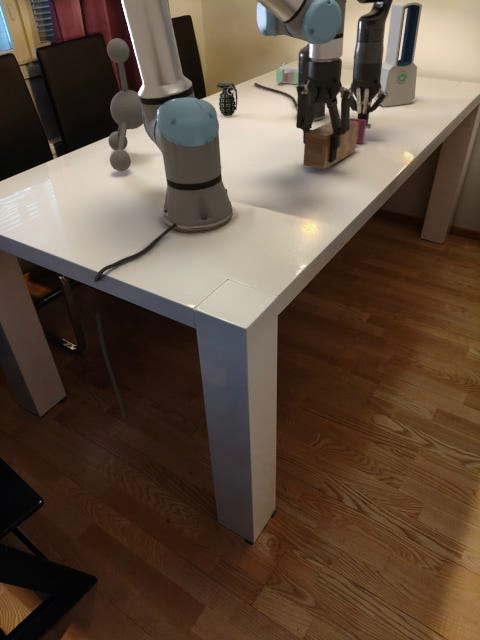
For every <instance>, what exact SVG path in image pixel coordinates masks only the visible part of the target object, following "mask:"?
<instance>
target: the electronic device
mask: <svg viewBox="0 0 480 640" xmlns="http://www.w3.org/2000/svg"><path fill="white" fill-rule="evenodd" d="M422 8H423V4H421V2H420V3H419V2H416V1H408V0H399V1H396V2H394V3H392V4H391V9H390V10H391V11H390V17H389V18H390V19H389V28H388V35H387V43H386V50H385V51H386V52H385V58H384V59H385V60H384V62H382V70H381V79H380V83H381V89H382V90H383V91H384V92H387V93H388V96H387V97H386V98H385V100H384V101H383V102H382V103H381V104H380V105H381V106H383V107H384V108H385V107H393V106H400V105H408V104H412V103H413V102H414V100H415V99H416V88H417V86H416V85H417V75H418V74H417V72H418V66H417V65H416V63H414V60H415V55H416V48H417V42H418V33H419V28H420V21H421V16H422V15H421V14H422ZM405 14H406V17H405ZM404 20H405V24H404ZM403 28H404V29H403ZM403 31H404V32H403ZM402 36H403V38H402ZM401 43H402V46H401ZM400 51H401V52H400ZM399 57H400V59H399ZM377 95H378V93H377ZM377 95H376V96H375V97H374V98H373V100H374V102H376V100H377V99H378V98H377ZM380 105H379V106H380Z"/></svg>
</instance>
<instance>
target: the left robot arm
mask: <svg viewBox="0 0 480 640" xmlns="http://www.w3.org/2000/svg"><path fill="white" fill-rule="evenodd" d="M256 1H257V5H256V24H257V27H258V30H259V32H260V34H261V35H262V36H264V37H275V38H276V37H277V36H287V37H290V38H293V39H298V40H301V41H304V42H306V43H309V57H310V58H311V60H310V61H309V74H308V76H309V81H308V83H307V84H302V85H300V86H298V85H297V87H296V94H297V99H298V107H297V111H296V123H295V127H296V128H297V129H300V130H302V131H303V133H302V143H303V145H305V134H306V132H309V131H311V130H312V128H313V123H314V121H315V120H314V117H315V114H316V111H317V108H318V104H319V103H320V102H323V103H326V105H325V107H326V108H327V109H328V114H329V119H330V122H331V124H332V129H333V135H331V136H330V154H329V162H330V163H332V162H333V161H335V160H336V157H337V149H338V148H339V147H340V145H341V135H342V134H343V135H344V134H345V133H347V132H348V131H349V125H350V118H351V117H350V116H351V107H350V98H351V95H352V92H353V90H352V89H351V88H350V87H349V88H346V87H344V86H343V85H342V82H341V81H342V80H341V78H342V69H343V68H342V67H343V59H342V58H341V57H342V56H343V50H344V34H345V23H346V22H345V20H346V7H347V6H346V5H347V0H256ZM121 4H122V8H123V12H124V16H125V20H126V23H127V27H128V31H129V34H130V40H131V43H132V46H133V50H134V55H135V58H136V62H137V66H138V69H139V73H140V77H141V81H142V85H141V87H140V88H139V91H138V92H137V93H138V94H139V98H140V102H141V106H142V109H143V124H142V125H143V127H144V130H145V132H146V134H147V136H148V137H149V139H150V140H151V141H152V142H153V143H154V144H155V145H156V147H157V148H158V149H159V151H160V152H161V154H162V159H163V168H164V173H165V180H166V190H165V191H166V192H165V196H164V203H163V207H162V218H163V222H164V224H165V226H167V227H168V228H166V229H165V230H164V231H163V232H162V233H161V234H160V235H158V236H157V237H156V238H154V240H152V241H151V242H150V243H149V244H148V245H146V246H145V247H144V248H143V249H141V250H140V251H138V252H136V253H134V254H132V255H129V256H126V257H123V258H121V259H119V260H117V261H115V262H113V263H110V264H109V265H108V264H107V265H105V266H103V267H102V268H101V269H99V271H98V272H97V274H96V276H95V277H94V280H93V282H94V283H97V282H99V281H100V278H101V277H102V275H103V274H104V273H105V272H106V271H108V270H111V269H113V268H115V267H117V266H120V265H122V264H124V263H127V262H129V261H131V260H134V259H136V258H138V257H140V256H142V255H144V254H145V253H146V252H148V251H149V250H150V249H151V248H153V246H154V245H156V244H157V243H158V242H159V241H160V240H161V239H163V238H164V237H165V236H166V235H167V234H168V233H170V232H171V231H172V230H173V231H177V232H180V233H190V234H191V233H192V234H193V233H194V234H195V233H196V234H197V233H205V232H206V233H207V232H210V231H215V230H216V229H220V228H222V227H224V226H226V225H227V224H228V223H230V221H231V220H232V218H233V216H234V212H233V211H234V210H233V205H232V201H231V200H230V197H229V195H228V189H227V188H226V187H225V184H224V182H223V175H222V174H223V173H222V161H221V147H220V146H221V145H220V133H219V131H220V124H219V119H218V114H217V110H216V108H215V106H214V105H213V104H212V103H211V102H209V101H207V100H205V99H203V98H202V99H201V98H200V99H199V98H197V97H196V96H195V91H194V87H193V82H192V80H190V79H189V78H188V77H186V76H185V75H184V73H183V69H182V64H181V59H180V55H179V50H178V45H177V39H176V36H175V31H174V26H173V20H172V16H171V12H170V6H169V2H168V0H121ZM308 90H309V92H310V94H311V96H312V97H311V100H310V106H309V109H308V113H307V116H306V104H307V93H308ZM339 93H340V96H339V97H340V98H341V100H340V112H339V106H338V97H337V96H338V95H339ZM305 117H306V119H305ZM340 119H341V122H340ZM313 120H314V121H313ZM95 321H96V325H97V333H98V337H99V342H100V346H101V349H102V355H103V357H104V361H105V364H106V368H107V371H108V374H109V378H110V380H111V383H112V386H113V389H114V392H115V395H116V399H117V401H118V405H119V408H120V412H121V416H122V419H123V420H125V419H126V418H127V416H126V412H125V407H124V405H123V401H122V397H121V395H120V391H119V387H118V385H117V382H116V378H115V375H114V373H113V369H112V367H111V363H110V359H109V356H108V352H107V349H106V344H105V339H104V335H103V330H102V329H103V328H102V322H101V315H100V312H95Z"/></svg>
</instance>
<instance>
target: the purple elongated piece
mask: <svg viewBox="0 0 480 640" xmlns="http://www.w3.org/2000/svg"><path fill="white" fill-rule="evenodd" d="M350 120H351V121H358V129H357V137H356V144H364V140H365V134H366V130H367V129H371V127H372V124H371V123H368V124H367V125H366V120H363V119H357V118H355V117H350Z"/></svg>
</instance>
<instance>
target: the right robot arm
mask: <svg viewBox="0 0 480 640" xmlns="http://www.w3.org/2000/svg"><path fill="white" fill-rule="evenodd" d="M356 1H357V2H358V3H359V4H362V5H363V4H364V5H365V4H366V5H367V4H372V7H371V9H370V11H369V12H367V13H364V14H362V15H360V17H359V18H358V20H357V25H356V26H357V28H356V42H355V47H354V52H353V67H352V81H351V84H350V87H349V88H351V89H352V90H353V92H352V95H351V98H350V110H351V111H353V112H356V113H357V116H356V117H357V118H356V119H363V120H366V125H367V124H369V119H370V118H369V117H370V113H373V112H374V111H376V110H377V109H378V108H379V107H380V104H381V103H382V102H383V101H384V100H385V98H386V97H387V96H388V93H387V92H384V91H383V90H382V89H381V83H380V79H381V70H382V64H383V61H384V60H383V59H384V50H385V49H384V42H385V41H384V40H385V33H386V31H385V30H386V22H387V19H388V16H389V13H390V10H391V8H392V4H393V1H394V0H356ZM297 60H299V62H298V84H297V87H298V86H300V85H302V84H307V83H308V81H309V76H308V74H309V61H310V60H311V58H310V57H309V42H307V44H306V45H304V46H303V47H302V48H301V49H300V50H299V51H298V59H297ZM253 85H254V86H256V87H258V88H260V89H263V90H267V91H268V92H272V93H276V94H280V95H282V96H285V97H286V98H287V97H288V98H289V99H290V100H291V101H292V103H293V105H294V107H295V109H296V112H297V107H298V98H296V99H297V101H296V99H295V98H294V96H292V95H291V94H289V93H287V92H285V91H281V90H279V89H276V88H271V87H268V86H265V85H261V84H259V83H257V82H254V83H253ZM377 93H378V95H377ZM376 95H377V98H378V99H377V100H376V101H374V103H373V100H374V97H375V96H376ZM311 97H312V96H311V94H310V92H309V90H308V93H307V104H306V116H307V113H308V109H309V106H310V100H311ZM372 103H373V104H372ZM324 118H326V103H323V102H320V103H319V104H318V108H317V111H316V114H315V117H314V120H313V122H314V121H320V120H323V119H324ZM305 119H306V117H305Z"/></svg>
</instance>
